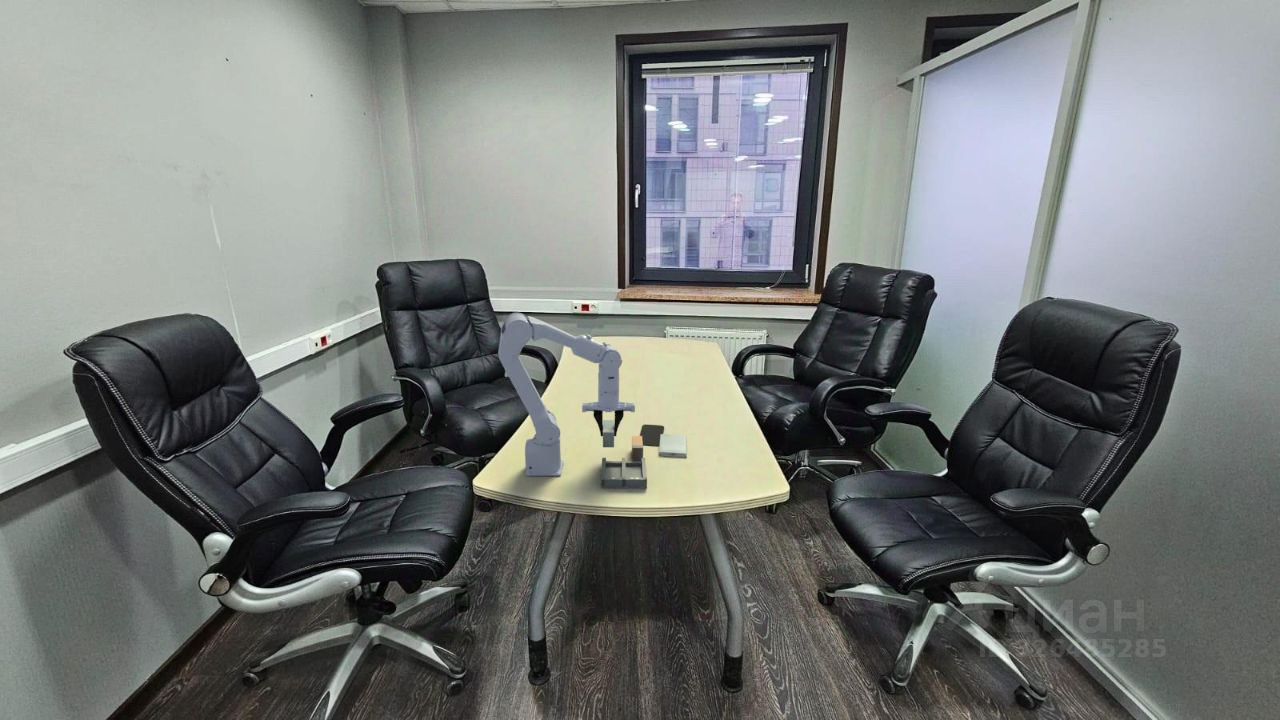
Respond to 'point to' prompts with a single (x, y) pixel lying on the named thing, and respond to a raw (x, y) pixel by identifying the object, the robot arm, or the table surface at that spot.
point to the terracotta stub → (637, 448)
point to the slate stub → (608, 433)
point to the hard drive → (673, 445)
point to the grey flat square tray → (623, 474)
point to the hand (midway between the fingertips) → (608, 434)
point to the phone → (651, 434)
